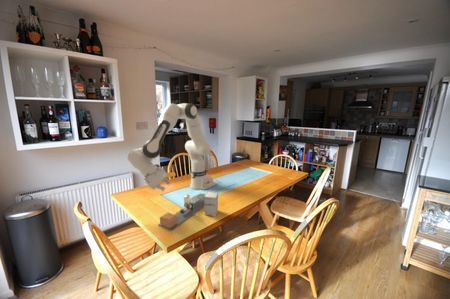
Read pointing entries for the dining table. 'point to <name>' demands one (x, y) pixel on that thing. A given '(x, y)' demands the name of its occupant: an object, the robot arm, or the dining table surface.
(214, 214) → the supplement box
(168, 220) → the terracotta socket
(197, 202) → the steel sleeve
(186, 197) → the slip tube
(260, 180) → the dining table surface
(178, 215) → the charcoal board
